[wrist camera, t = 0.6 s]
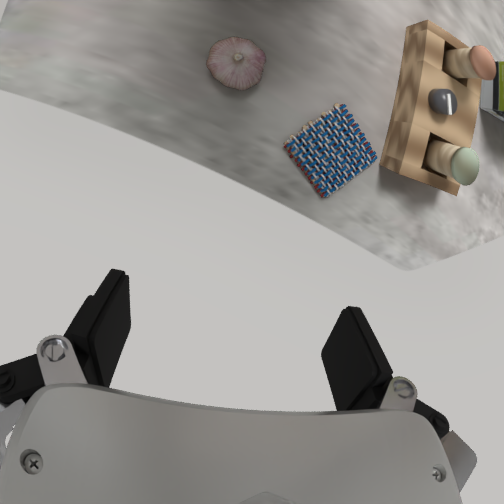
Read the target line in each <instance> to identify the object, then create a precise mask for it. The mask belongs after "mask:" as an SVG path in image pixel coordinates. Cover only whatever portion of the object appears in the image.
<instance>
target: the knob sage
mask: <svg viewBox="0 0 504 504" xmlns="http://www.w3.org/2000/svg"><path fill="white" fill-rule="evenodd" d="M423 162H424V164H425V165H426V166H427V167H428V168H430V169H433V170H435V171H437V172H440V173H442V174H444V175H446V176H449V177H451V178H453V179H455V180H456V181H457V182H458V183H460V184H462V185H470V184H472V183H473V182H474V181H475V179H476V177H477V175H478V172H479V159H478V156H477V154H476V152H475V151H474V150H473V149H471V148H468V147H459V146H456V145H452V144H449V143H445V142H442V141H438V140H434V139H431V140H429V141H428V143H427V147H426V151H425V155H424V159H423Z"/></svg>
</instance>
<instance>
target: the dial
mask: <svg viewBox="0 0 504 504" xmlns="http://www.w3.org/2000/svg"><path fill="white" fill-rule="evenodd" d="M428 103H429V106H430V108H431V109H432V110H433V111H434V112H435V113H438V114H445V115H453V114H454V113H455V112H456V110H457V99H456V96H455V94H454V93H453V92H452V91H451V90H449V89H432V90H431V91H430V92H429V95H428Z"/></svg>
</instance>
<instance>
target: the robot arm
mask: <svg viewBox="0 0 504 504" xmlns="http://www.w3.org/2000/svg"><path fill="white" fill-rule="evenodd" d="M130 328H131V317H130V294H129V276H128V275H125V272H124V271H121V270H116V269H111V270H110V272H109V273H108V274H107V276H106V277H105V279H104V281H103V282H102V284H101V285H100V287H99V288H98V290H97V291H96V293H95V295H94V296H92V295H89V296H88V297H87V298H86V300H85V301H84V303H83V305H82V306H81V308H80V309H79V311H78V313H77V314H76V316H75V318H74V319H73V321H72V323H71V324H70V326H69V327H68V329H67V331H66V333H65V334H64V336H61V335H51V336H48V337H45V338H44V339H43V340H41V341H40V343H39V344H38V346H37V354H34V355H32V356H28V357H26V358H23V359H20V360H17V361H14V362H10V363H8V364H4V365H1V366H0V504H462V500H461V497H460V491H461V490H462V488H463V486H464V485H465V483H466V481H467V480H468V478H469V476H470V475H471V473H472V471H473V469H474V467H475V465H476V463H477V457H476V454H475V453H474V451H473V450H472V449H471V448H470V447H469V446H468V445H467V444H466V443H465V442H463V440H462V439H461V438H460V437H459V436H458V435H457V434H456V433H455V432H454V431H453V430H452V431H451V432H449V423H448V420H447V419H446V417H445V416H444V415H442V414H441V413H439V412H438V411H436V410H434V409H433V408H431V407H429V406H428V405H426V404H425V403H423V402H421V401H420V400H418V399H416V398H417V389H416V387H415V385H414V384H413V383H412V382H411V381H410V380H408V379H407V378H404V377H400V376H399V377H394V378H393V377H392V373H393V371H392V369H391V367H390V365H389V363H388V361H387V358H386V356H385V354H384V352H383V350H382V348H381V347H380V345H379V343H378V340H377V339H376V337H375V335H374V333H373V331H372V329H371V327H370V325H369V323H368V321H367V319H366V318H365V316H364V314H363V312H362V310H361V308H359V307H351V306H348V307H346V309H343V310H342V312H341V314H340V316H339V318H338V320H337V322H336V324H335V326H334V328H333V330H332V332H331V334H330V336H329V338H328V340H327V342H326V344H325V345H324V347H323V349H322V353H321V357H322V360H323V364H324V367H325V371H326V374H327V378H328V381H329V384H330V388H331V391H332V395H333V398H334V402H335V406H336V409H337V411H325V412H282V411H258V410H244V409H232V408H222V407H213V406H205V405H197V404H190V403H184V402H177V401H171V400H166V399H160V398H155V397H150V396H145V395H140V394H135V393H130V392H126V391H122V390H117V389H112V388H109V386H110V383H111V380H112V377H113V374H114V372H115V369H116V366H117V363H118V361H119V358H120V355H121V352H122V349H123V347H124V344H125V342H126V339H127V337H128V334H129V331H130ZM15 424H16V425H15ZM14 425H15V427H14V428H13V426H14ZM13 429H14V430H13ZM12 430H13V433H12V435H11V437H10V440H9V443H8V446H7V448H6V447H5V439H6V436H7V435H8V434H9V433H10V432H11V431H12ZM37 460H38V461H37Z"/></svg>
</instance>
